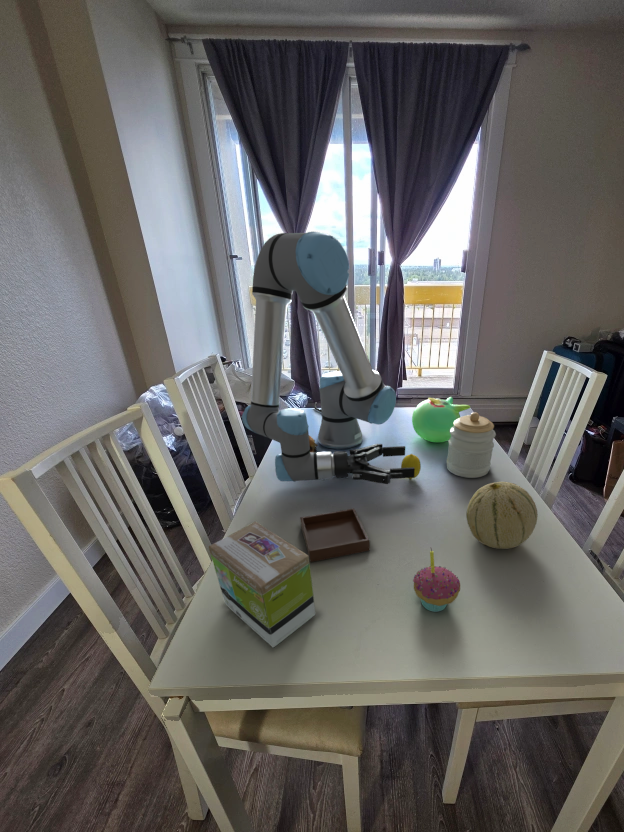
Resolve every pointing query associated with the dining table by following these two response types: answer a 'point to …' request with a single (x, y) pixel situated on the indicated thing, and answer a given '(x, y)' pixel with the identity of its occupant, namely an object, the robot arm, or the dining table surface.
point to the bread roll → (312, 445)
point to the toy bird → (436, 418)
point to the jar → (470, 446)
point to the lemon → (411, 463)
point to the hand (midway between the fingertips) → (409, 461)
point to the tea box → (264, 581)
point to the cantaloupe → (501, 515)
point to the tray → (334, 534)
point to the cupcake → (436, 586)
